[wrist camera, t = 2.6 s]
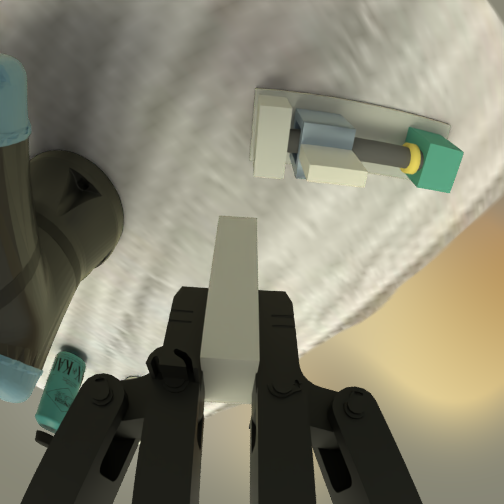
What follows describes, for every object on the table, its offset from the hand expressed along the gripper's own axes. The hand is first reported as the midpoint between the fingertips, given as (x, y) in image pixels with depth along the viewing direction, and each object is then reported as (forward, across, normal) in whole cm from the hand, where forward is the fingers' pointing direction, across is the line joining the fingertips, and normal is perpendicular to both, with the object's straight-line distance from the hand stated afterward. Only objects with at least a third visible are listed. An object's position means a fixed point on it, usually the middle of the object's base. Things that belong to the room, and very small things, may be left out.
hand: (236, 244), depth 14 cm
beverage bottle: (+18, -30, -42) cm, 55 cm away
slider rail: (+18, +11, 0) cm, 21 cm away
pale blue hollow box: (+17, +6, 0) cm, 18 cm away
